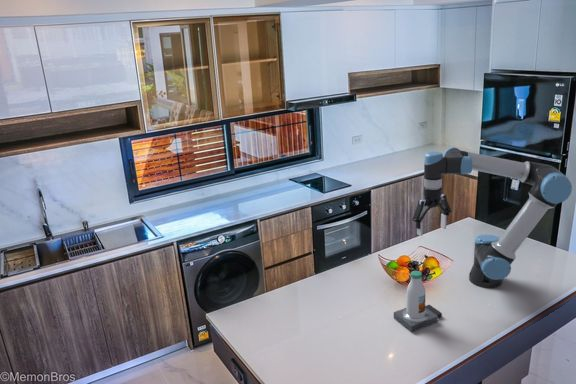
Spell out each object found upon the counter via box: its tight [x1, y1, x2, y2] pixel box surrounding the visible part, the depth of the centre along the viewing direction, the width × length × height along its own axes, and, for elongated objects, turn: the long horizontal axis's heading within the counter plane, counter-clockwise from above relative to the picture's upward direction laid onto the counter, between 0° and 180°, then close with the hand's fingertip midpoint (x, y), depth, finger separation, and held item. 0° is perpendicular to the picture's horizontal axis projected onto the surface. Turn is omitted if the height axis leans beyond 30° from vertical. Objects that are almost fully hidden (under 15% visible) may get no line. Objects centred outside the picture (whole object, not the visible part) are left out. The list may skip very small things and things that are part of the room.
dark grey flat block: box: [393, 304, 443, 333], centre depth 208 cm, size 18×12×3 cm, turn 115°
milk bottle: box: [406, 270, 426, 319], centre depth 203 cm, size 8×8×20 cm
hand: (431, 231), depth 217 cm, fingers open, 13 cm apart
